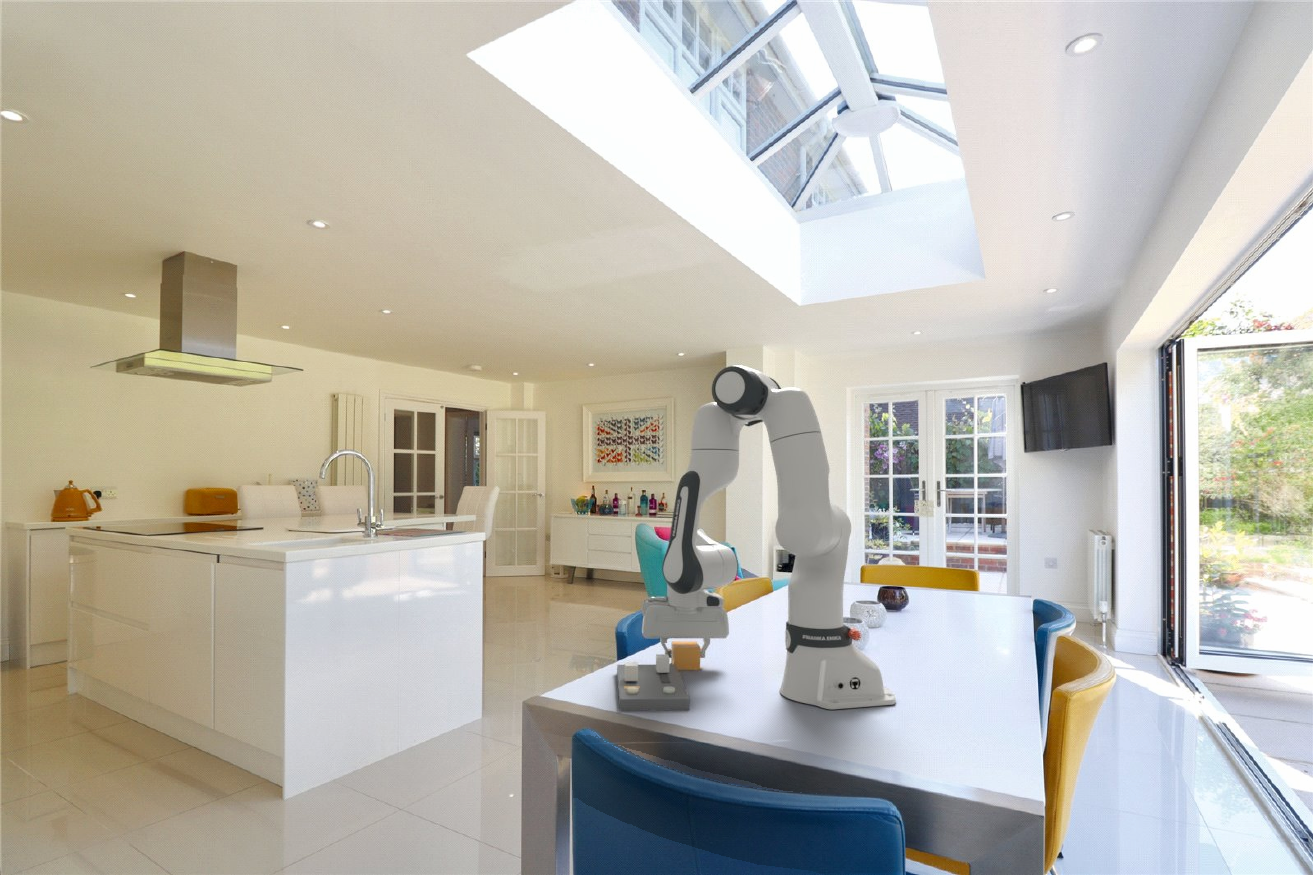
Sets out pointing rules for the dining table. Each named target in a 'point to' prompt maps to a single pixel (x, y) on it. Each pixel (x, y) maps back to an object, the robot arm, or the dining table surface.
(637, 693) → the breaker panel
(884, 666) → the dining table surface
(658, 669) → the block
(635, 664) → the block
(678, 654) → the cap
